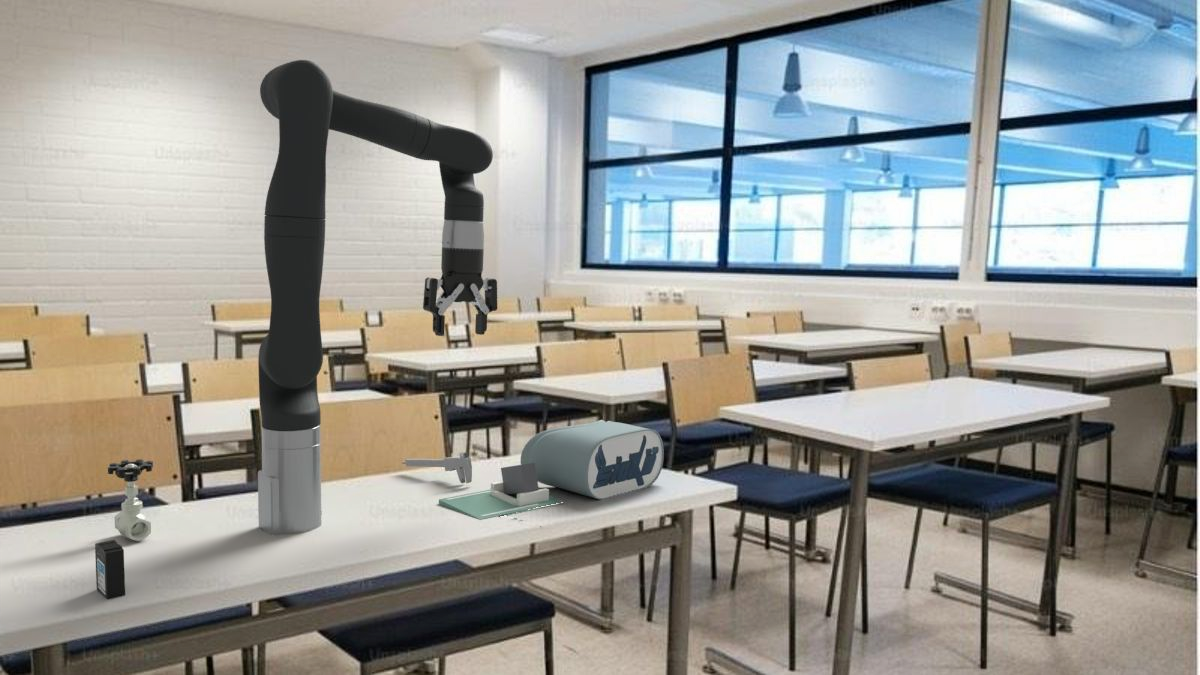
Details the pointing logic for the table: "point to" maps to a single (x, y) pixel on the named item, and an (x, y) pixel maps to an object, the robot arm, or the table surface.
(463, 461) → the caliper
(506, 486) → the switch
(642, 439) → the pencil case
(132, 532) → the valve
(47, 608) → the table surface
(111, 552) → the ink cartridge
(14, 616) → the table surface
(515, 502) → the board
